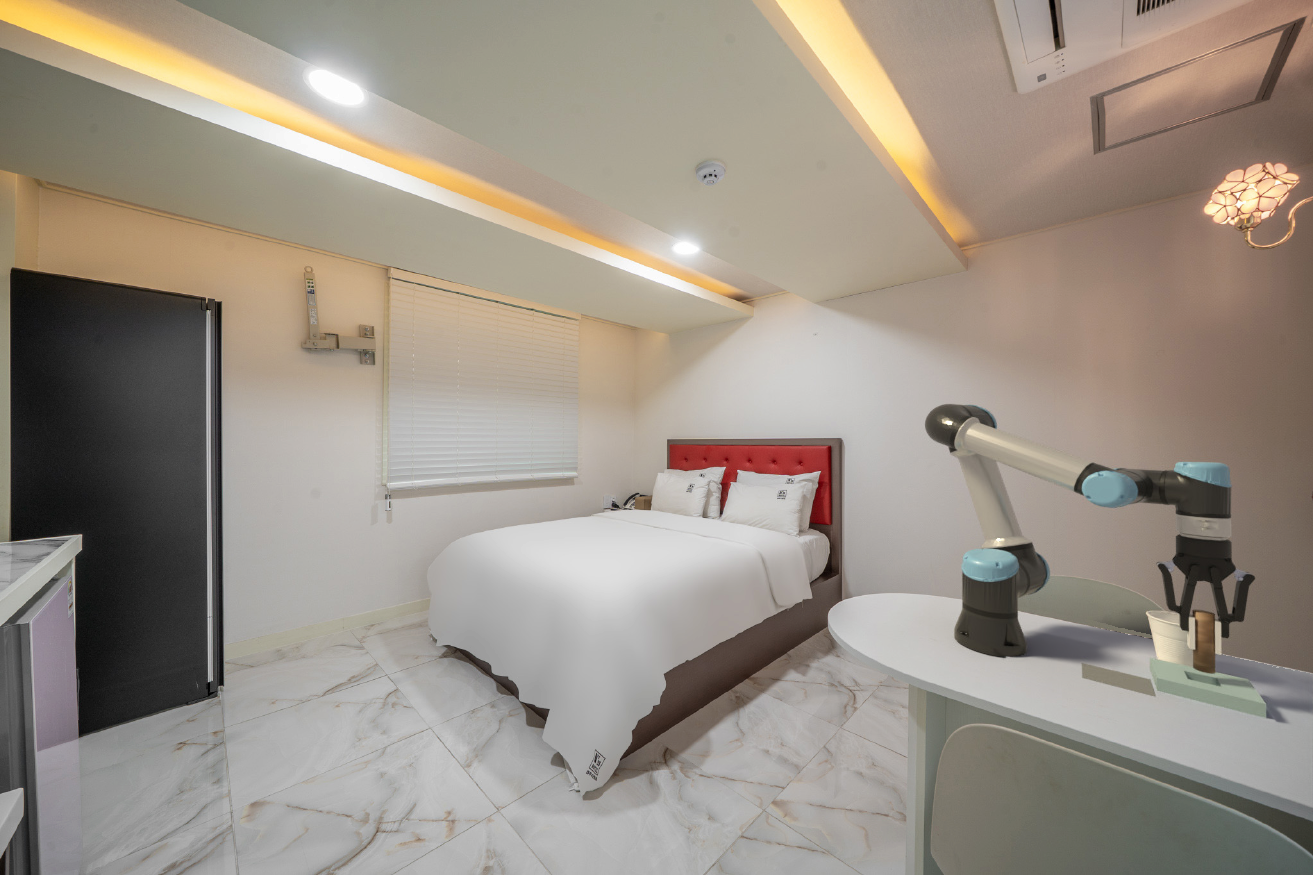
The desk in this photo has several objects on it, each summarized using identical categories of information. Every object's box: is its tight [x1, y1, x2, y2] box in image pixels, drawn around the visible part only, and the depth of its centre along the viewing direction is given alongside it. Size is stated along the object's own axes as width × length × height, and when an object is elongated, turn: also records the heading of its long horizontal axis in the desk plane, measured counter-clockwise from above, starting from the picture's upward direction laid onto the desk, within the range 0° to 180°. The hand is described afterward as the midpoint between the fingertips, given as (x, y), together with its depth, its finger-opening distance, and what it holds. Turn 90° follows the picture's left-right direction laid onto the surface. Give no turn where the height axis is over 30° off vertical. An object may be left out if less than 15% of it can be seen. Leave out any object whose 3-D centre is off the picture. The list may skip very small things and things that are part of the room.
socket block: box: [1149, 657, 1267, 719], centre depth 96 cm, size 14×12×3 cm
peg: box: [1191, 609, 1217, 674], centre depth 96 cm, size 3×3×12 cm
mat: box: [1081, 662, 1156, 698], centre depth 101 cm, size 11×9×1 cm
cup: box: [1145, 610, 1193, 667], centre depth 108 cm, size 10×10×11 cm
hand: (1203, 649), depth 96 cm, fingers closed on peg, 3 cm apart
